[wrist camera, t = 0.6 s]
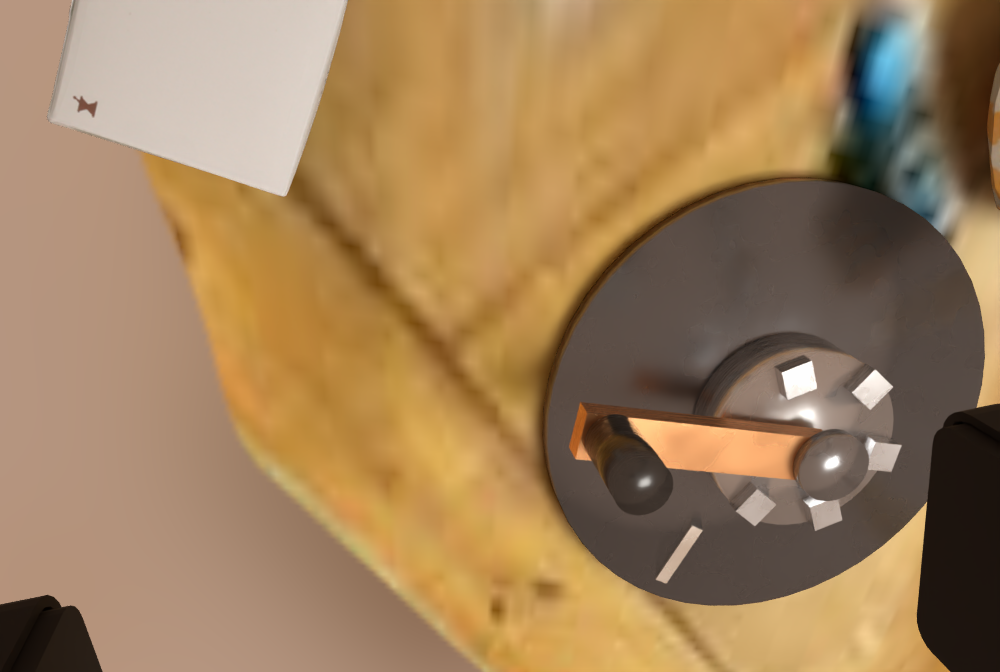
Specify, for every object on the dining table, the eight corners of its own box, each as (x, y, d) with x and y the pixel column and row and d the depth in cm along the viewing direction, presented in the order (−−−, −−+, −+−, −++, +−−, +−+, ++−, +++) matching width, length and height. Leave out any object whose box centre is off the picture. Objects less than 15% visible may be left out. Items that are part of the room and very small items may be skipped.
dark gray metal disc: (605, 136, 40) (614, 139, 38) (1038, 220, 46) (1057, 225, 45) (500, 581, 48) (504, 596, 47) (879, 602, 54) (892, 616, 53)
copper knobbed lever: (885, 344, 45) (1014, 420, 36) (826, 501, 48) (932, 606, 39) (577, 300, 41) (640, 374, 32) (535, 476, 44) (582, 586, 35)
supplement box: (302, 152, 37) (285, 209, 26) (135, 91, 35) (33, 122, 24) (354, -9, 36) (361, -26, 24) (180, -84, 33) (94, -143, 22)
